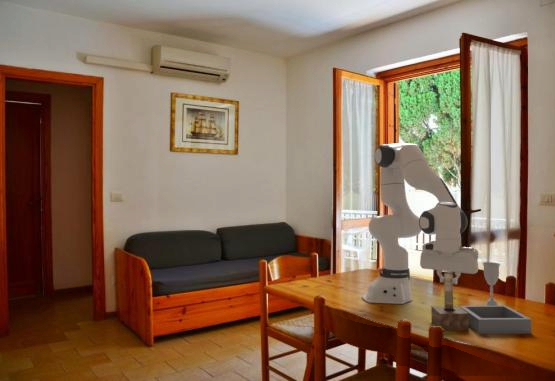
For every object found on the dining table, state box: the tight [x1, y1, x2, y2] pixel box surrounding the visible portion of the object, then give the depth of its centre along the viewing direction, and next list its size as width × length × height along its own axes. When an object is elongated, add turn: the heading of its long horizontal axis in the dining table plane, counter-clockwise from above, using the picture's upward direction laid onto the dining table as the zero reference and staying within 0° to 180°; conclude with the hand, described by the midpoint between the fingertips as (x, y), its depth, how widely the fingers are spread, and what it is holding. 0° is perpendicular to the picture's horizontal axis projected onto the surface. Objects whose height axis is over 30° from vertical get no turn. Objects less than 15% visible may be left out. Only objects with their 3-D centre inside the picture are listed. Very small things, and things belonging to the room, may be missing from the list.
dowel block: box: [430, 305, 470, 331], centre depth 162 cm, size 10×10×6 cm
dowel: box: [443, 271, 454, 309], centre depth 162 cm, size 3×3×13 cm
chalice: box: [482, 261, 501, 306], centre depth 189 cm, size 7×7×18 cm
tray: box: [458, 304, 533, 335], centre depth 162 cm, size 18×18×5 cm
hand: (448, 283), depth 162 cm, fingers closed on dowel, 3 cm apart
